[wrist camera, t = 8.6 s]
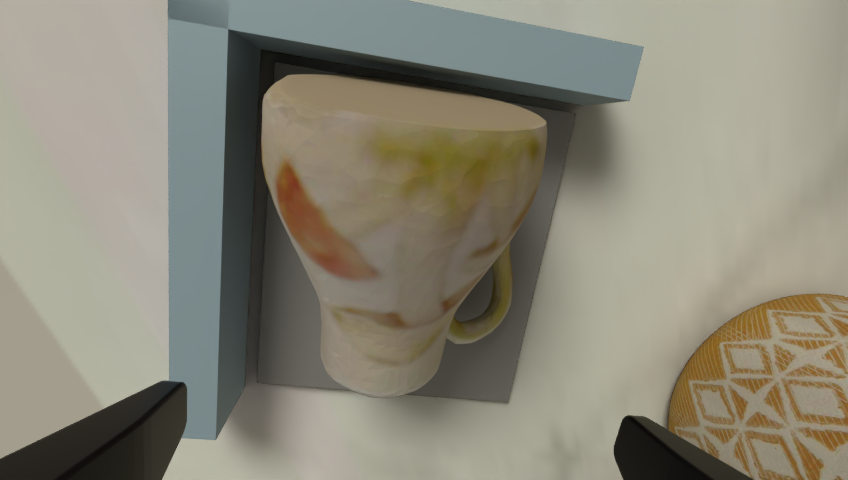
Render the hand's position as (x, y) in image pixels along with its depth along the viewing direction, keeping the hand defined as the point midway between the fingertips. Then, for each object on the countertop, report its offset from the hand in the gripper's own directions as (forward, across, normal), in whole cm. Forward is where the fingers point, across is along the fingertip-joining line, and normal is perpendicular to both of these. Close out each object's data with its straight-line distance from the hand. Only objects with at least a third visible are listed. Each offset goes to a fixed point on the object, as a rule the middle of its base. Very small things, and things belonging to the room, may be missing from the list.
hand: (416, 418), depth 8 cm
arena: (+8, +6, -8) cm, 13 cm away
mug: (+9, -1, 0) cm, 9 cm away
